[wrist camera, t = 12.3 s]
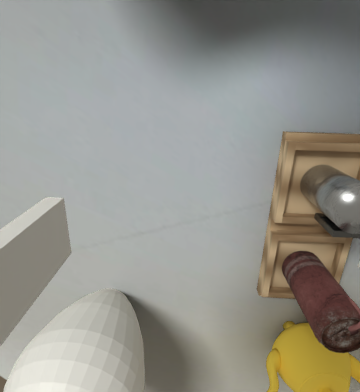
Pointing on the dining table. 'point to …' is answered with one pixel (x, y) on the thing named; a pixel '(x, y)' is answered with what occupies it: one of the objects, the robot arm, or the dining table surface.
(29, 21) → the dining table surface
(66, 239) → the robot arm
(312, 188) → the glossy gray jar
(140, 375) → the vase
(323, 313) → the can
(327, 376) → the teapot
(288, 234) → the tray
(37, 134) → the dining table surface
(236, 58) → the dining table surface
